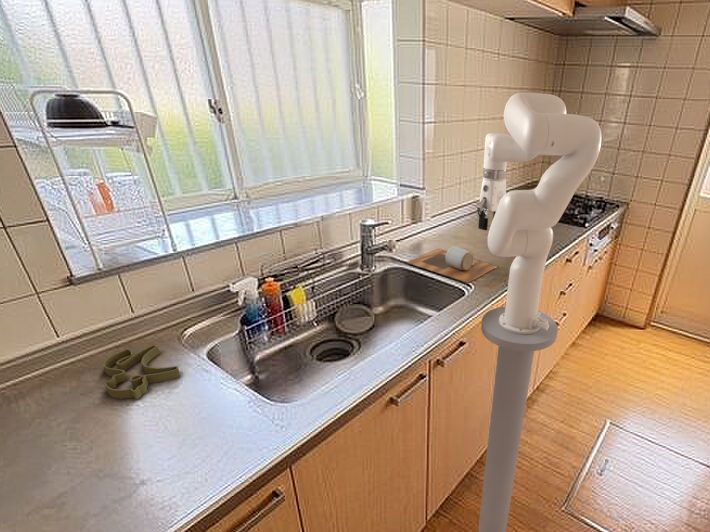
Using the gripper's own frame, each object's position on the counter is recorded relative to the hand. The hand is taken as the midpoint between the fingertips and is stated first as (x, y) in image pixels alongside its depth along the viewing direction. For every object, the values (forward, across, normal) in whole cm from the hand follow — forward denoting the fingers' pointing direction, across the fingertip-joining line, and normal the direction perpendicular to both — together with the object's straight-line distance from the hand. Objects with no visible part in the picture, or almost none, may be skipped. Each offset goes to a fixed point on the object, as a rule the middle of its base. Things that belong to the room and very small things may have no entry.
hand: (490, 226), depth 142 cm
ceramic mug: (+18, 0, +11) cm, 21 cm away
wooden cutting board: (+18, 0, +15) cm, 23 cm away
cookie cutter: (+19, -98, +30) cm, 104 cm away
